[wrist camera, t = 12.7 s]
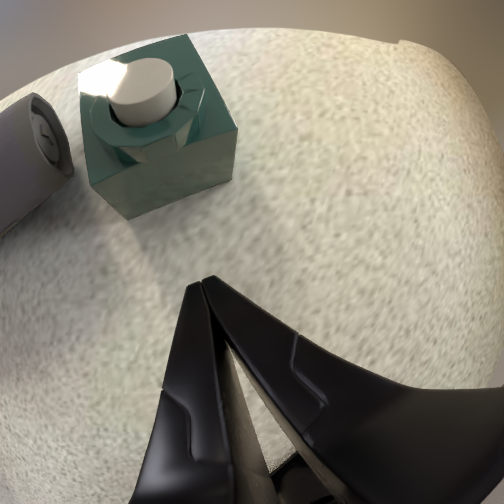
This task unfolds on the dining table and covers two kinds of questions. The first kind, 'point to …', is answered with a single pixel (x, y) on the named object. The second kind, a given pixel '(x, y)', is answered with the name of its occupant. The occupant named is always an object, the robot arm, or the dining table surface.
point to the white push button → (142, 92)
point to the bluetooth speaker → (30, 158)
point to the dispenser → (157, 135)
